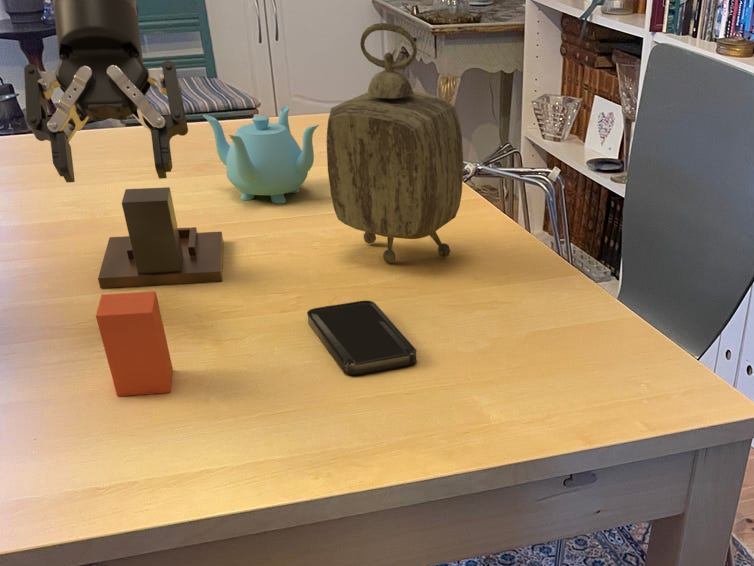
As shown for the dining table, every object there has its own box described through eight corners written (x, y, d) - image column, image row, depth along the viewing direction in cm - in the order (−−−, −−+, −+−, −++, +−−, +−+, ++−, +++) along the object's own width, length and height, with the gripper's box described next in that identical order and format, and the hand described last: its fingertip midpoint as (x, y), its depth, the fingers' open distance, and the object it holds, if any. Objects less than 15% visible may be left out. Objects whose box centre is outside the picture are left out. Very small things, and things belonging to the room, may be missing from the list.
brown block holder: (100, 288, 110) (78, 206, 104) (111, 246, 120) (92, 169, 114) (222, 281, 112) (208, 200, 106) (223, 240, 122) (210, 164, 116)
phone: (346, 366, 93) (304, 309, 103) (347, 377, 94) (305, 319, 104) (420, 353, 95) (372, 298, 105) (420, 363, 96) (373, 308, 106)
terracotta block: (117, 396, 90) (95, 315, 85) (121, 373, 94) (101, 294, 88) (170, 392, 91) (152, 312, 86) (173, 369, 95) (155, 291, 89)
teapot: (240, 214, 130) (228, 133, 123) (212, 187, 139) (199, 111, 132) (327, 200, 135) (320, 122, 128) (295, 175, 143) (287, 101, 136)
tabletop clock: (463, 255, 119) (463, 23, 102) (432, 280, 113) (426, 37, 96) (364, 237, 123) (348, 12, 107) (328, 260, 117) (306, 24, 101)
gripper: (3, -16, 85) (22, 157, 84) (165, -19, 87) (185, 150, 86) (31, 41, 92) (49, 200, 92) (179, 37, 94) (198, 193, 94)
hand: (115, 176), depth 89 cm, fingers open, 8 cm apart
